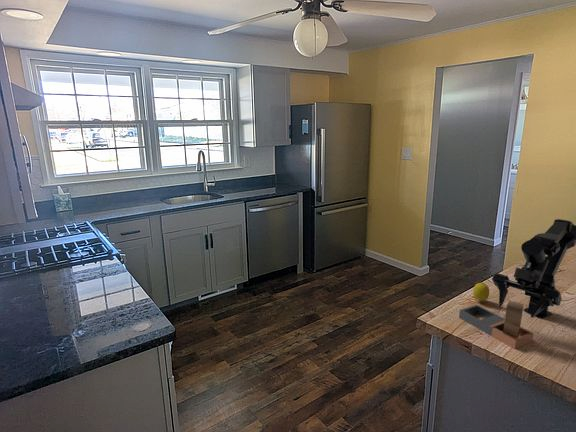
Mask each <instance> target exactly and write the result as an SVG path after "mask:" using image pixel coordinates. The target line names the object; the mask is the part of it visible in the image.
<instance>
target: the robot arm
mask: <svg viewBox="0 0 576 432" xmlns="http://www.w3.org/2000/svg"><path fill="white" fill-rule="evenodd" d="M575 246H576V225H575V224H574V222H573V221H571V220H568V219H560V218H558V219H557V218H555V220H554V221H553V223H552V225H551V226H550V227H549V228H548V229H546V231H545V232H543V233H537V234H535V235H534V236H533V237H532V238H531V237H530V239H529V240H526V241H525V242H523V243H522V245H521V251H522V254H523V257H524V260H525V262H524V265H523V266H522V267H521V268H520V267H515V270H514V274H513V277H514V280H515V281H513V280H510V279H509V275H504V274H501V273H498V272H496V273H495V274H493V276H492V278H491V280H492V281H493V284H494V286H495V287H496V288H497V289H498V291H499V292H498V293H499V294H498V295H499V296H498V297H499V299H498V301H499V302H498V305H499V307H500V308H501V307H502V306H503V304H504V302H505V300H506V299H507V298H506V297H507V295H508V292H509V291H508V290H509V288H510V287H511V288H512V289H513V288H514V289H516V290H520V291H524V296H528V297H529V301H528V302H529V303H528V307H526V308H523V312H526V313H528V314H530V317H531V318H532V319H533V318H534V317H537V318H539V319H543V318H547V317H548V316H551V315H553V313H552V312H551V311H549V307H554V306H560V304H561V302H562V299H563V298H562V295H561V292H560V291H559V290H557V287H556V283H555V276H556V273H557V271H558V269H559V267H560V265H561V264H562V261H563V259H564V256H565V255H566V253H567V251H568V250H569V249H572V248H574V247H575Z"/></svg>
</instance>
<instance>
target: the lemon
mask: <svg viewBox="0 0 576 432" xmlns="http://www.w3.org/2000/svg"><path fill="white" fill-rule="evenodd" d="M472 291H473V292H472V294H473V297H474V298H475V300H477V301H478V302H484V301H487V300H488V298H489V296H490V288H489V286H488V285H487V284H486V283H484V282H479V283H476V284H475V285H474V287H473V290H472Z"/></svg>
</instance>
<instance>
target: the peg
mask: <svg viewBox="0 0 576 432" xmlns="http://www.w3.org/2000/svg"><path fill="white" fill-rule="evenodd" d="M524 306H525V304H524V303H521V302H517V301H513V300H508V302H507V305H506V310H505V316H504V317H505V318H504V319H505V323H504V329H503V332H504V333H506V334H508V335H510V336H511V337H513V338H517V337H520V336H519V331H520V327H521V325H522V318H523V312H524Z"/></svg>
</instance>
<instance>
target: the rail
mask: <svg viewBox="0 0 576 432" xmlns="http://www.w3.org/2000/svg"><path fill="white" fill-rule="evenodd" d="M474 315H478V316H480V317H482V319H480V318H478V317H476V316H474ZM458 317H459V319H461V320H463V321H464V322H466V323H468V324H470V326H471V325H472V326H473V327H474V328H477V329H479V330H480V331H482V332H483V333H486V334H487V335H489V336H491V337H493V338H495V339H496V340H498V341H500V342H502V343H503V344H505V345H506V346H508V347H511V348H512V349H514V350H515V349H518V348H520V347H523V346H525V345H528V344H530V343H532V342H533V340H534V335H535V334H534V332H532V331H529V330H528V329H526V328H524V327H521V326H520V331H519V337H517V338H513V337H511V336H510V335H508V334H506V333H504V332H503V329H504V323H505V318H504V317H502V316H500V315H498V314H496V313H495V312H492V311H490V310H488V309H486V308H484V307H483V306H481V305H478V304H474V305H472V306H467V307H465V308H462V309H459V315H458Z"/></svg>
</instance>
